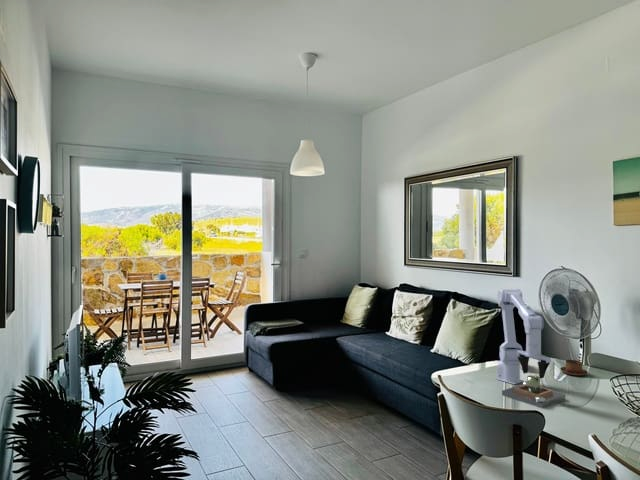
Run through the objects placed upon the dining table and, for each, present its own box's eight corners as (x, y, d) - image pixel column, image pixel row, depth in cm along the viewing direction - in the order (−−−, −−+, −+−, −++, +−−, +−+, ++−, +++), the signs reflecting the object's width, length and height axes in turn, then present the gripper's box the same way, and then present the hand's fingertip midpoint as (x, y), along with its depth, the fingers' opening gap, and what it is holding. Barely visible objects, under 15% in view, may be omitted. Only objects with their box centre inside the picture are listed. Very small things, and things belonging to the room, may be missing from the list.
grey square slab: (502, 395, 193) (502, 387, 193) (525, 387, 203) (525, 379, 203) (542, 408, 178) (542, 399, 178) (565, 399, 188) (565, 391, 188)
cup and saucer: (563, 369, 233) (563, 357, 233) (589, 373, 225) (589, 361, 225) (558, 374, 223) (558, 362, 223) (585, 379, 216) (585, 366, 216)
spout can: (524, 391, 191) (524, 374, 191) (531, 389, 194) (531, 372, 194) (535, 395, 187) (535, 377, 187) (542, 392, 190) (542, 375, 190)
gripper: (555, 346, 186) (555, 378, 186) (524, 339, 199) (524, 369, 199) (545, 348, 183) (545, 381, 183) (514, 341, 195) (514, 372, 195)
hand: (533, 375), depth 190 cm, fingers open, 7 cm apart
